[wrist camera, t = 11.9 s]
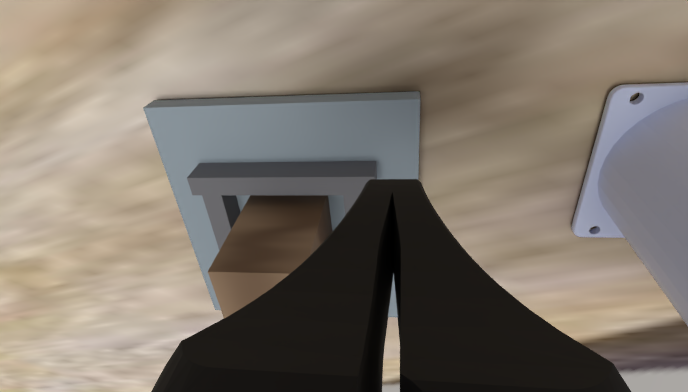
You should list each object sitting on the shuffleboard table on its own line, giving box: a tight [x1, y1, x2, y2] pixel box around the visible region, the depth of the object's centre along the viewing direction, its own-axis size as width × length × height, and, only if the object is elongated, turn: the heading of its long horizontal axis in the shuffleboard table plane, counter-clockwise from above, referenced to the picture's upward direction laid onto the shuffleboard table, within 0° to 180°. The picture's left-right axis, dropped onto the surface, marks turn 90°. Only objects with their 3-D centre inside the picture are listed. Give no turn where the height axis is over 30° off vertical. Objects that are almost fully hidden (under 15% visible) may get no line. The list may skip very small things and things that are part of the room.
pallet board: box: [143, 91, 420, 317], centre depth 22 cm, size 13×14×2 cm
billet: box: [208, 195, 332, 318], centre depth 20 cm, size 4×4×6 cm
